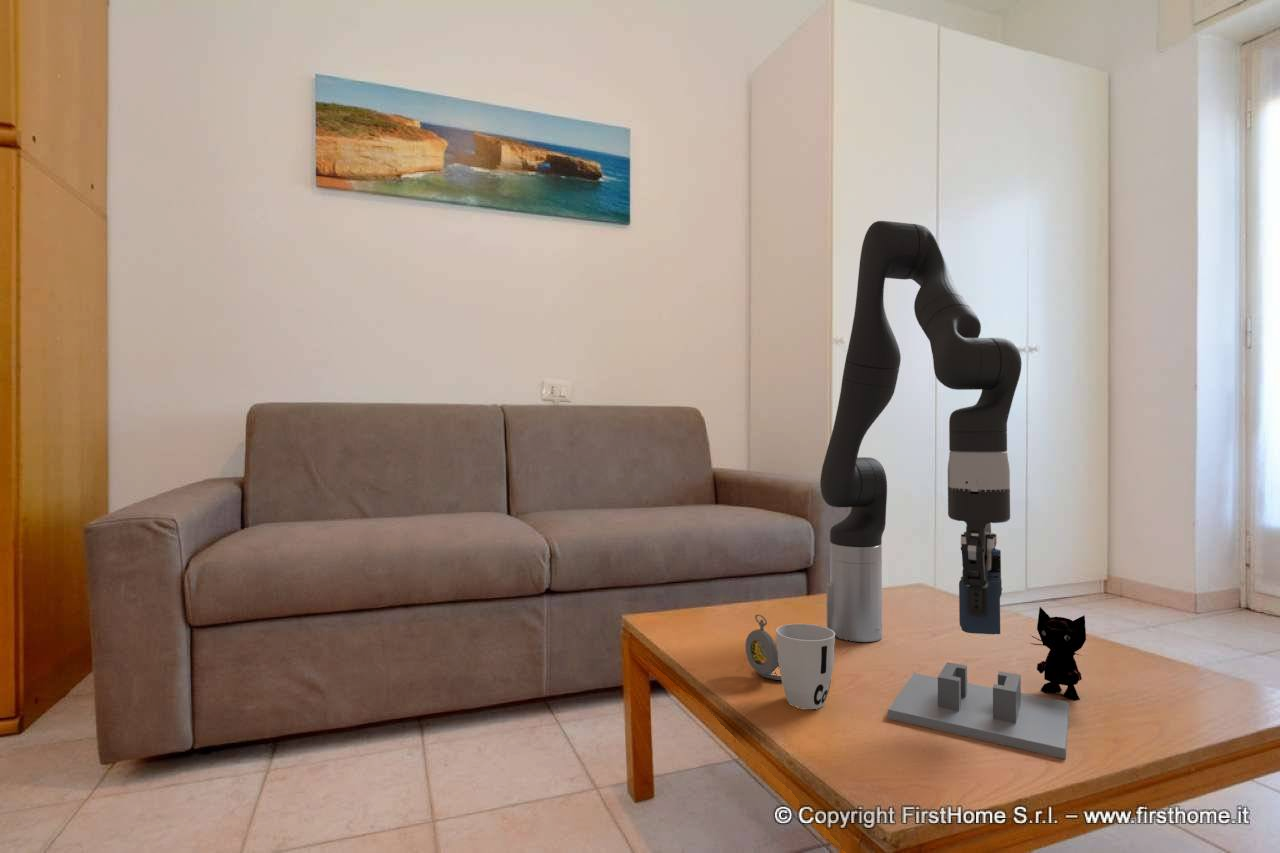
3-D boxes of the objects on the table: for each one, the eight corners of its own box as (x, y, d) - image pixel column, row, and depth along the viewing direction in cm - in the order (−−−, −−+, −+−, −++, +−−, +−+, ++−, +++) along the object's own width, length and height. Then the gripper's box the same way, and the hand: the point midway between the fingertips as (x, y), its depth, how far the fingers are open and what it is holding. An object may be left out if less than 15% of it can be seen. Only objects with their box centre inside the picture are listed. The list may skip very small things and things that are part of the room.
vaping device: (1005, 635, 89) (1003, 544, 89) (962, 633, 90) (961, 543, 90) (999, 629, 91) (998, 541, 91) (957, 627, 92) (956, 540, 92)
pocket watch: (803, 671, 107) (803, 608, 107) (792, 689, 99) (792, 622, 99) (753, 663, 110) (753, 602, 110) (739, 681, 103) (739, 615, 103)
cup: (825, 719, 89) (825, 644, 89) (767, 706, 93) (767, 634, 93) (842, 698, 96) (842, 628, 96) (787, 687, 100) (787, 620, 100)
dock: (887, 718, 89) (887, 679, 89) (914, 680, 103) (913, 646, 103) (1065, 759, 78) (1065, 714, 78) (1069, 711, 91) (1068, 672, 91)
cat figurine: (1025, 690, 98) (1025, 609, 99) (1045, 680, 103) (1045, 601, 103) (1080, 706, 93) (1079, 620, 93) (1098, 694, 97) (1098, 611, 97)
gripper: (956, 480, 99) (957, 598, 98) (938, 487, 87) (940, 620, 87) (1014, 482, 94) (1015, 605, 94) (1004, 490, 83) (1005, 630, 83)
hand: (979, 611), depth 90 cm, fingers closed on vaping device, 3 cm apart
